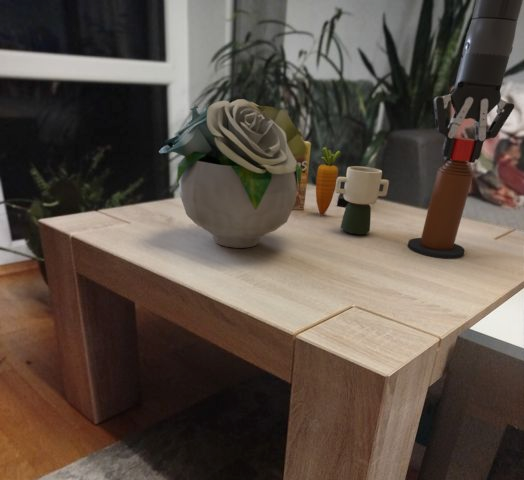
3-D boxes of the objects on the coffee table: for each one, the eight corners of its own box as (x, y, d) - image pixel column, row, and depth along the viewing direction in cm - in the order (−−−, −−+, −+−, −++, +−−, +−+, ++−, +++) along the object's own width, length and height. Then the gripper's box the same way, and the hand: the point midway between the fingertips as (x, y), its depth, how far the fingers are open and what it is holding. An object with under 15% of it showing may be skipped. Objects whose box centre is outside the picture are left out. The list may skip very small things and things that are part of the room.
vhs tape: (367, 198, 140) (368, 191, 139) (366, 209, 128) (367, 201, 127) (340, 195, 141) (342, 188, 140) (336, 206, 129) (338, 198, 128)
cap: (447, 156, 94) (452, 136, 93) (469, 159, 93) (474, 138, 92) (448, 159, 91) (453, 138, 89) (470, 162, 90) (476, 141, 88)
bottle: (444, 240, 103) (471, 140, 94) (458, 251, 98) (488, 145, 88) (415, 239, 103) (439, 137, 93) (427, 249, 97) (454, 142, 87)
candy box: (268, 209, 120) (274, 140, 113) (265, 205, 124) (270, 138, 117) (304, 210, 122) (312, 142, 115) (300, 206, 126) (307, 140, 118)
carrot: (335, 215, 120) (345, 148, 112) (326, 219, 116) (336, 150, 109) (317, 211, 122) (325, 145, 115) (307, 215, 118) (315, 147, 111)
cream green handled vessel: (374, 229, 111) (386, 167, 105) (383, 238, 105) (396, 174, 98) (326, 226, 110) (334, 164, 104) (332, 236, 104) (341, 170, 97)
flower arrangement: (236, 275, 80) (245, 104, 68) (142, 236, 94) (136, 89, 82) (328, 247, 96) (348, 106, 84) (236, 218, 110) (242, 94, 99)
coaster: (449, 242, 106) (450, 238, 106) (474, 259, 96) (475, 255, 96) (399, 240, 104) (400, 236, 104) (419, 257, 95) (420, 253, 95)
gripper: (521, 57, 87) (491, 161, 95) (438, 50, 87) (416, 154, 96) (537, 55, 80) (504, 168, 89) (448, 48, 81) (423, 160, 89)
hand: (458, 160), depth 92 cm, fingers closed on cap, 4 cm apart
